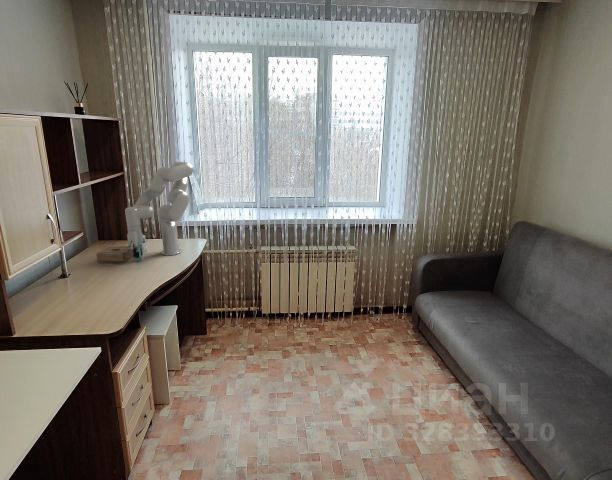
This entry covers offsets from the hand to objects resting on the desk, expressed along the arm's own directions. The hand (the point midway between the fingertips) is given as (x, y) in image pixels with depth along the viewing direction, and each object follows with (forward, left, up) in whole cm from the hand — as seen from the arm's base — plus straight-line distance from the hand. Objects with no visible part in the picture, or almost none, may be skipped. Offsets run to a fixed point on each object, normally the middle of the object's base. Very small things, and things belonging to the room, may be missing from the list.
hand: (138, 256), depth 244 cm
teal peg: (0, 0, -3) cm, 3 cm away
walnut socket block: (-3, -15, -3) cm, 16 cm away
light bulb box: (-20, -10, -3) cm, 22 cm away
